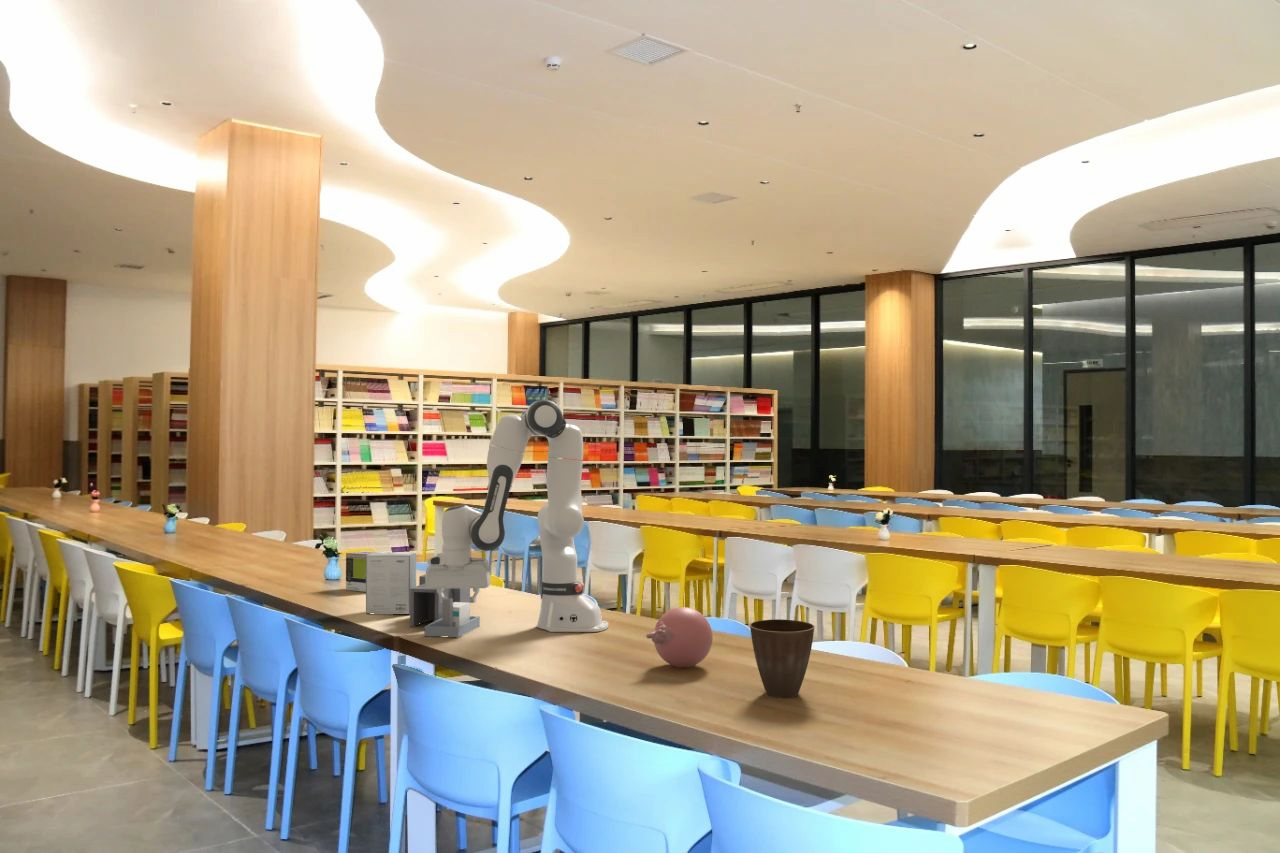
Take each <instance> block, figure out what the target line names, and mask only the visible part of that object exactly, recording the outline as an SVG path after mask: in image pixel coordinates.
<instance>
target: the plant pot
mask: <svg viewBox="0 0 1280 853" xmlns="http://www.w3.org/2000/svg"><path fill="white" fill-rule="evenodd" d="M749 628H750V635H751V636H750V637H751V641H752V642H751V643H752V648H753V653H754V657H755V662H756V666H757V669H758V673H759V676H760V679H761V682H762V685H763V688H764V691H765V693H766V695H768V696H771V697H774V698H784V699H785V698H794V697H797V696H798V695H799V692H800V690H801V687H802V685H803V682H804V679H805V676H806V671H807V669H808V665H809V661H810V657H811V652H812V646H813V640H814V635H815V633H814V632H815V625H813V624H812V623H811V622H807V621H802V620H793V619H779V618H778V619H775V618H773V619H763V620H761V619H760V620H756V621H753V622H751V623H750V624H749Z"/></svg>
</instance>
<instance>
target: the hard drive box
mask: <svg viewBox="0 0 1280 853" xmlns="http://www.w3.org/2000/svg"><path fill="white" fill-rule="evenodd" d="M416 586H417V552H416V553H415V552H412V553H411V552H405V553H404V552H388V553H373V554H369V555H366V592H365V614H366V613H374V614H373V615H393V614H409V615H410V588H413V587H416Z"/></svg>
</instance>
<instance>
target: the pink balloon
mask: <svg viewBox="0 0 1280 853" xmlns="http://www.w3.org/2000/svg"><path fill="white" fill-rule="evenodd" d="M645 637H646V639H651V641H652V643H653V644H654V648H655V650H656V652H657V654H658V655H659V657H660V658H661V659H662V660H663V661H665V662H666V663H667V664H668V665H671V666H673V667H677V668H689V667H693V666H695V665H696V666H697V665H698V664H700V662H703V660H704V659H705V658H706V657H707V656H708V654H709V653H710V650H711V648H712V645H713V639H714V638H713V630H712V627H711V624H710V622H709V621H708V619H707V618H706V616H705V615H703V613H701V612H700V611H698V610H696V609H694V608H691V607H687V606H684V607H683V606H680V607H673V608H671V609H670V610H668V611H665V613H664V614H662V615H661V617H659V619H658V620H657V622H656V624H655V627H654V630H653V631H652V632H649V633H647V634H646V636H645Z"/></svg>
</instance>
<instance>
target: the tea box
mask: <svg viewBox="0 0 1280 853" xmlns="http://www.w3.org/2000/svg"><path fill="white" fill-rule="evenodd" d="M373 553H389V551H388V552H387V551H386V552H384V551H372V550H360V551H352V552H351V551H350V552H345V590H347V591H353V592H354V591H356V592H363V593H364V592H365V593H366V555H369V554H373Z"/></svg>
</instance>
